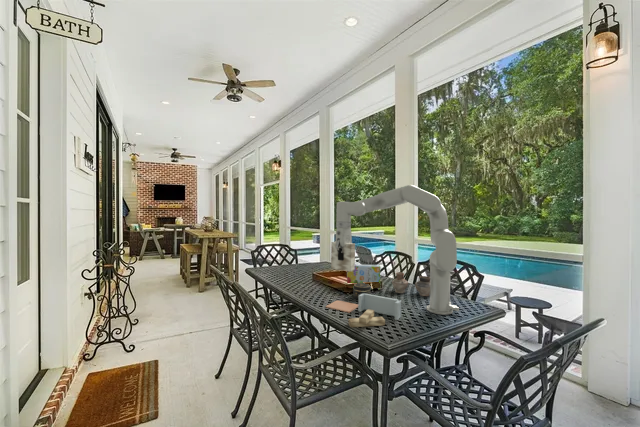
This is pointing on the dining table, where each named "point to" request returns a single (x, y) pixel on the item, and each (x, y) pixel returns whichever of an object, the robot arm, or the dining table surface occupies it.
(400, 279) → the pottery
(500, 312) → the dining table surface
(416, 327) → the dining table surface
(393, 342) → the dining table surface
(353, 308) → the tile
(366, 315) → the offcut top
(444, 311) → the robot arm
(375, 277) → the snack box
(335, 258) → the cream block
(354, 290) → the jar
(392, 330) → the dining table surface
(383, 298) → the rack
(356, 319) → the block
